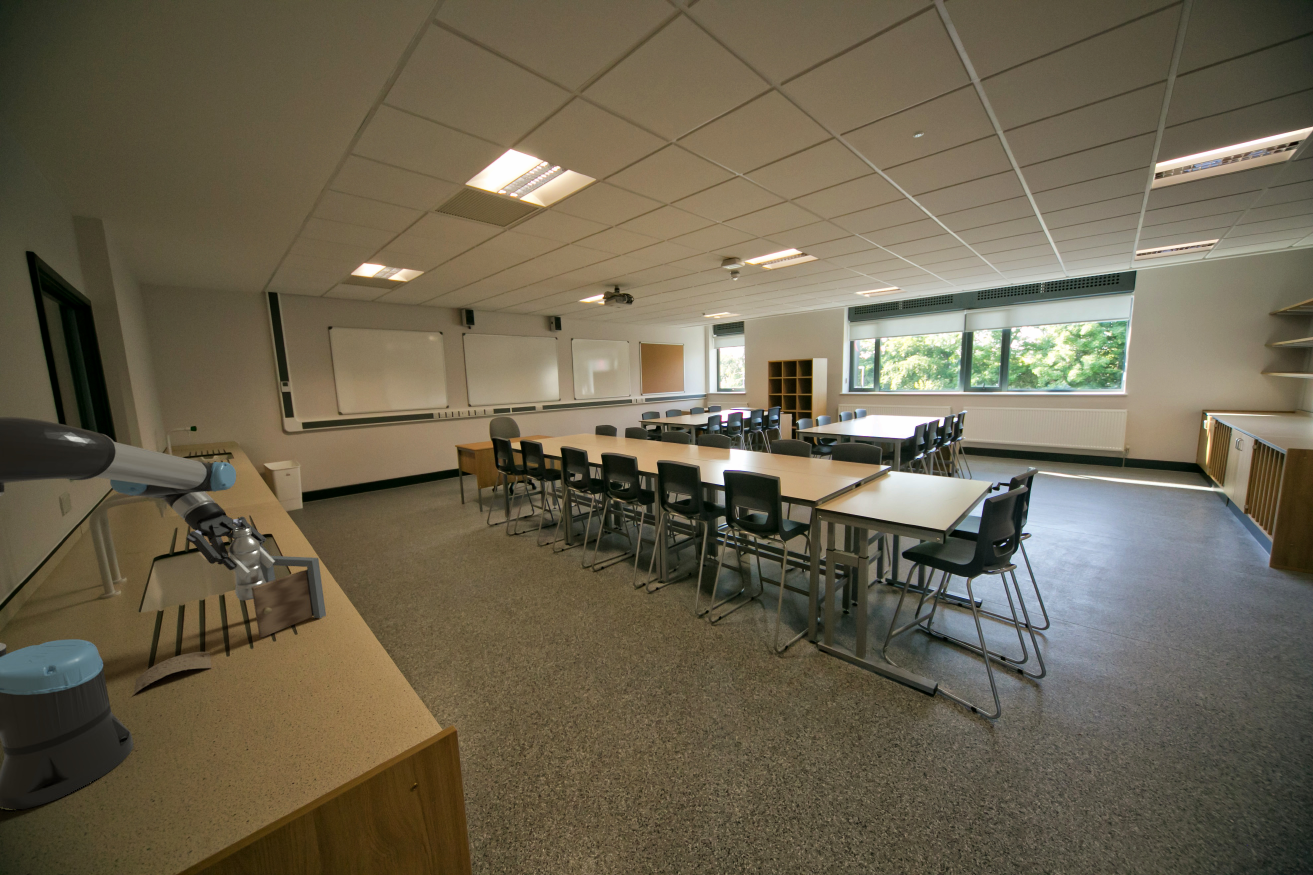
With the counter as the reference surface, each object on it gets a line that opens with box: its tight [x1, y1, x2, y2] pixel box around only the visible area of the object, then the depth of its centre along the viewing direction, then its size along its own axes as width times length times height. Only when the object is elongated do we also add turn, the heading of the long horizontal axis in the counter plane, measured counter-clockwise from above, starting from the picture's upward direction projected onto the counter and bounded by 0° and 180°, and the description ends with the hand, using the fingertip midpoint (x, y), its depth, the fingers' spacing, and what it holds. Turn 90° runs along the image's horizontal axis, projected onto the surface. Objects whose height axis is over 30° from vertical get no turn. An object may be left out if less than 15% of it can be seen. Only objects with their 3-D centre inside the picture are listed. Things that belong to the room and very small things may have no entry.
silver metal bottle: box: [227, 527, 266, 601], centre depth 125 cm, size 6×7×20 cm
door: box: [252, 569, 314, 638], centre depth 127 cm, size 13×3×14 cm, turn 151°
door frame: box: [260, 555, 327, 619], centre depth 134 cm, size 2×18×18 cm, turn 81°
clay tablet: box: [132, 651, 213, 696], centre depth 109 cm, size 14×10×3 cm
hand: (259, 569), depth 124 cm, fingers closed on silver metal bottle, 6 cm apart
